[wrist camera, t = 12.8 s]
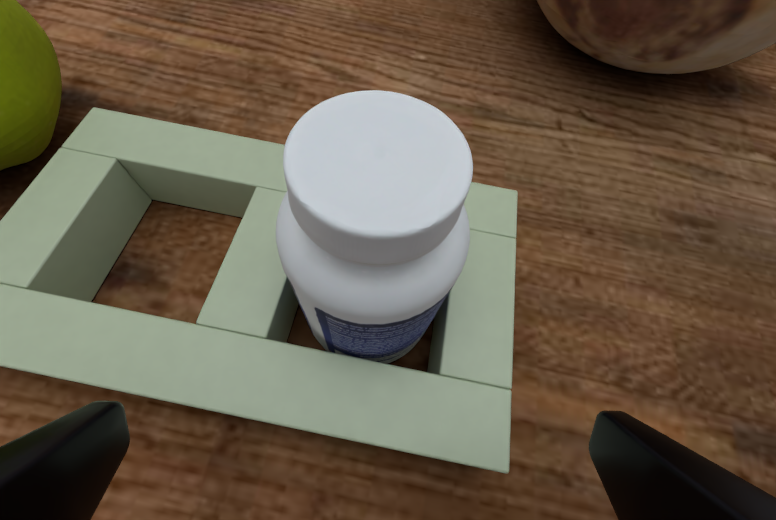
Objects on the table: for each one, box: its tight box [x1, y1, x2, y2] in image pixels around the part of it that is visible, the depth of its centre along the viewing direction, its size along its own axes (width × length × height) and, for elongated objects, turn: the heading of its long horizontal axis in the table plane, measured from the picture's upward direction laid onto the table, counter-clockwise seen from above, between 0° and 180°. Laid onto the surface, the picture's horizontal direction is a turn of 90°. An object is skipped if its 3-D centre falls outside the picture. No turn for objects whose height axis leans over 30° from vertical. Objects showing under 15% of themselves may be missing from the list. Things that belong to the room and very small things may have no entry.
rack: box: [0, 107, 517, 473], centre depth 15 cm, size 11×20×3 cm, turn 79°
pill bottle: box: [276, 90, 473, 364], centre depth 12 cm, size 5×5×10 cm
